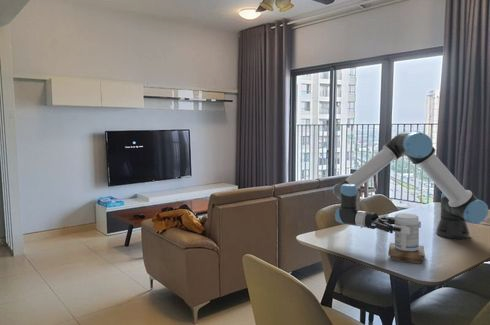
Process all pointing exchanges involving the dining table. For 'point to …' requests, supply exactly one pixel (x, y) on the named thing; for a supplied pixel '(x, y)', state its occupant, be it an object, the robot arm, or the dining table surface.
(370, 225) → the robot arm
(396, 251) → the walnut stand
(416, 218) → the supplement tub
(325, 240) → the dining table surface
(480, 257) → the dining table surface
